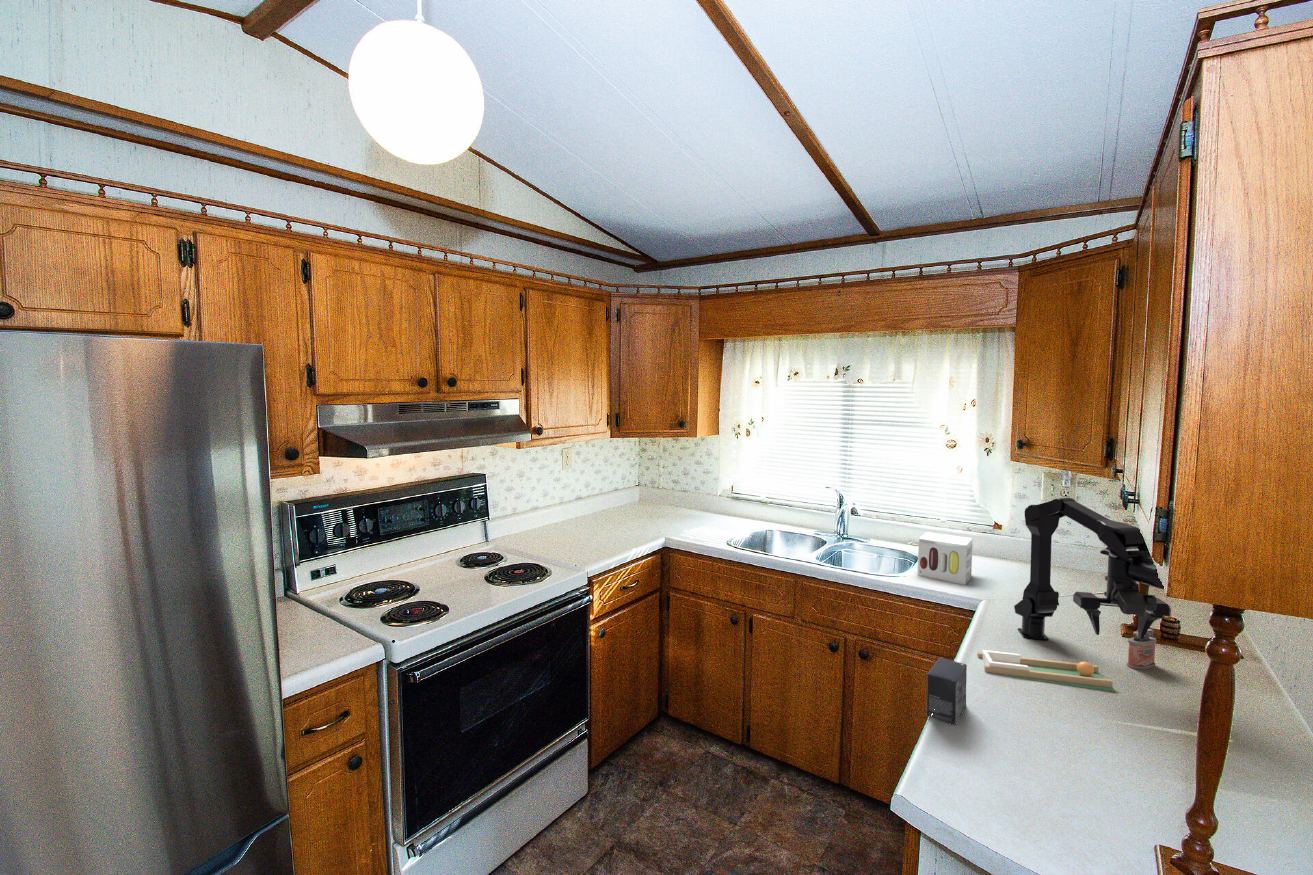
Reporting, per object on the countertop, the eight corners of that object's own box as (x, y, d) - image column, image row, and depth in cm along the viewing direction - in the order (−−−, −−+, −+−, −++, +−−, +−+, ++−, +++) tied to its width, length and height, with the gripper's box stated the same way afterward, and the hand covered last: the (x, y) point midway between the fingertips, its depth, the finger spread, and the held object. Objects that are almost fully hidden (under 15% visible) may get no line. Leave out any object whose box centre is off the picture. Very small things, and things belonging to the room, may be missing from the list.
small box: (936, 698, 140) (938, 656, 139) (966, 707, 136) (968, 663, 135) (924, 717, 132) (925, 672, 131) (956, 727, 128) (957, 681, 127)
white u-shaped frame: (981, 658, 160) (982, 649, 159) (1019, 662, 157) (1019, 653, 157) (989, 671, 152) (989, 662, 152) (1028, 676, 149) (1028, 666, 149)
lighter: (1136, 671, 153) (1138, 634, 153) (1123, 665, 156) (1125, 629, 156) (1158, 667, 155) (1160, 630, 155) (1145, 661, 159) (1147, 626, 158)
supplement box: (916, 583, 226) (917, 537, 225) (924, 575, 237) (925, 531, 236) (965, 592, 216) (967, 544, 215) (972, 583, 226) (973, 537, 225)
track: (976, 657, 161) (976, 650, 161) (1095, 671, 153) (1095, 663, 153) (986, 675, 151) (986, 668, 151) (1114, 691, 143) (1114, 683, 142)
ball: (1071, 669, 152) (1077, 657, 152) (1085, 678, 150) (1091, 667, 151) (1078, 670, 148) (1085, 658, 149) (1092, 679, 147) (1099, 667, 148)
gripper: (1091, 582, 141) (1088, 645, 142) (1185, 589, 135) (1181, 654, 136) (1073, 569, 151) (1070, 627, 152) (1160, 575, 146) (1156, 636, 147)
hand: (1118, 636), depth 147 cm, fingers open, 9 cm apart
